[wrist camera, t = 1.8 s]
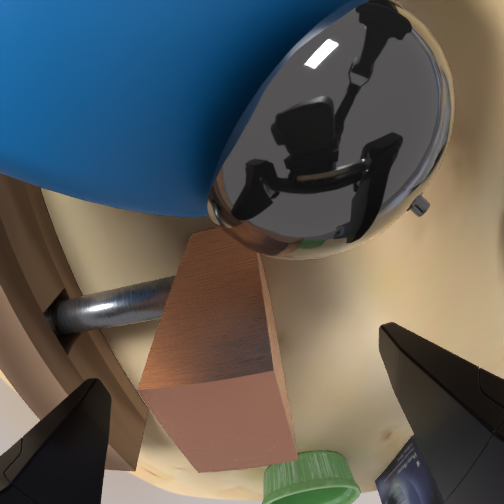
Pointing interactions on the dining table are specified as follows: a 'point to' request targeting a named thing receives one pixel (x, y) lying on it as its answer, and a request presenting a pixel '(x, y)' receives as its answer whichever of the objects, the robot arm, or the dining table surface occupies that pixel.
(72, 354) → the beam
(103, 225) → the dining table surface
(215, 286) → the pin
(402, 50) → the alarm clock
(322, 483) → the ramekin
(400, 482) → the small box
